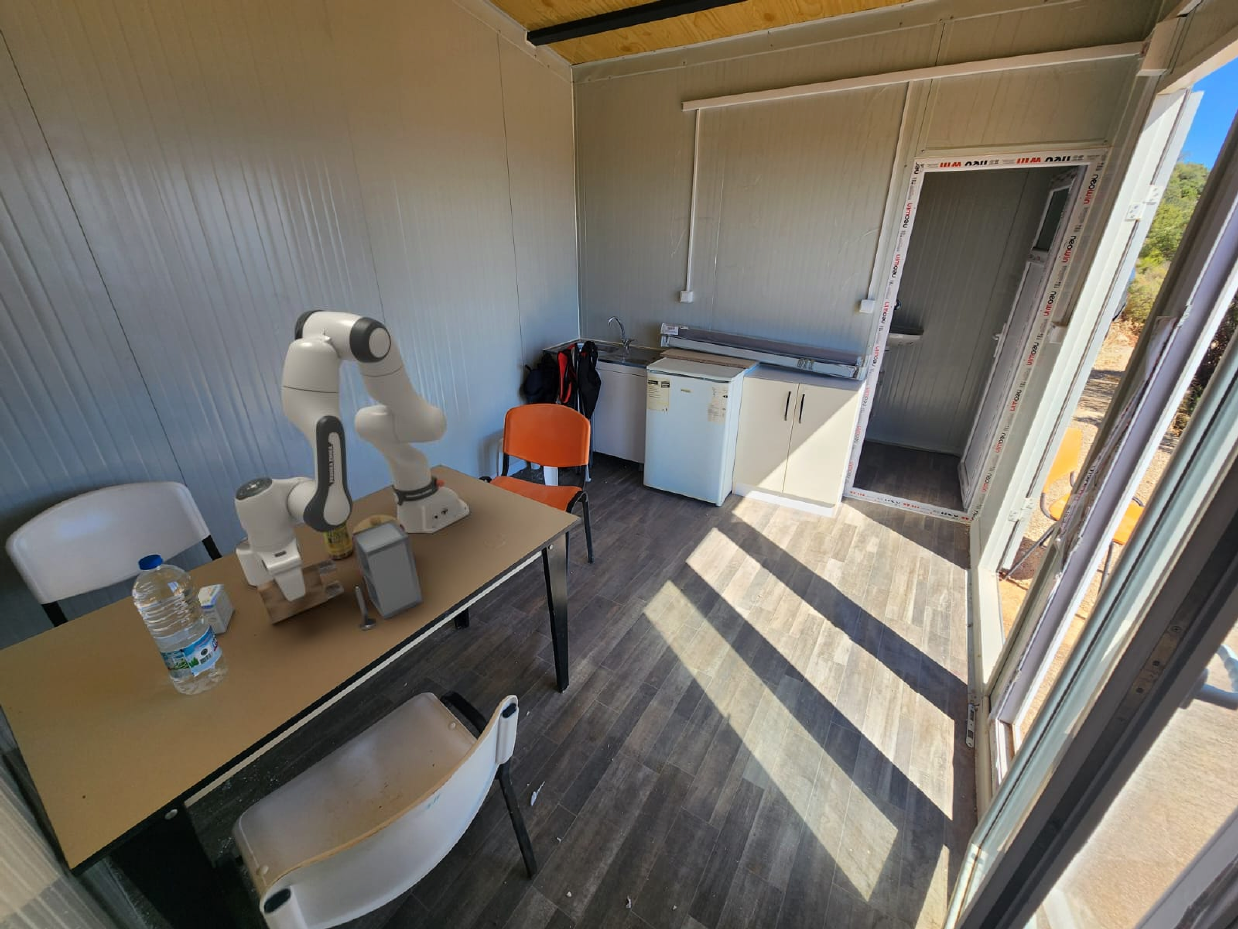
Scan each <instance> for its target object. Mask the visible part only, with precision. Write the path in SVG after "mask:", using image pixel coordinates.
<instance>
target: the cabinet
mask: <svg viewBox="0 0 1238 929" xmlns="http://www.w3.org/2000/svg"><path fill="white" fill-rule="evenodd" d="M352 537H353V538H354V541H355V545H356V549H357V552H358V556H359V560H360V563H361V567H362V571H363V574H364V578H365V580H364V581H365V584H366V590H367V591H368V592H367V593H368V595H369V598H370V601H371V602H372V604H373V606H374V607H375V608H376V610H377V611H378V612H379V614H380V616H381V617H382V619H383V620H385V621H386V620H388V619H389V618H391V617H394V616H396V615H398V614H400V613H402V612H404V611H407V610H409V609H411V608H413V607H415V606H417V605H419V604H421V603H423V596H422V591H421V587H420V582H419V578H418V573H417V569H416V568H417V567H416V563H415V558H414V553H413V549H412V544H411V539H410V536H409V535H408V534H407V532H404V531H403V530H402V528H401V527H400V526H399V525H398V524H397V523H396V522H395V521H394V520H393V519H392V520H390V521H387V522H384V523H381V524H378V525H376V526H373V527H370V528H367V529H364V530H361V531H359V532H356V533H353V532H352Z"/></svg>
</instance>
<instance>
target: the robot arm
mask: <svg viewBox="0 0 1238 929" xmlns="http://www.w3.org/2000/svg"><path fill="white" fill-rule="evenodd" d="M293 332H294V341H292V342H291V343H290V345H289V346H288V350H287V353H286V356H285V358H284V359H285V360H284V365H283V371H282V375H281V376H282V377H281V378H282V379H281V394H280V395H281V397H280V399H281V405H282V410H283V415H284V416H285V417H286V419H287V420H288V421H289V422H290V423H291V424H292V425H293V426H295V428H297V429H298V430H299V431H300V432H301V434H303V436H304V437H305V438H306V439H307V441H308V442H309V444H310V445H311V448H312V451H313V457H314V458H313V459H314V461H313V462H314V479H313V478H310V477H306V476H302V475H301V476H300V475H299V476H293V477H291V478H290V477H289V478H285V479H282V478H281V479H280V478H279V479H277V478H271V477H258V478H254V479H251V480H249V481H247V482H245V483H244V484H242V485H241V486H240V487H239V488H238V489H237V490H236V492H235V494H234V505H235V509H236V512H237V516H238V519H239V522H240V525H241V527H242V529H243V530H244V531H245V532H246V534H247V538H248V542H249V545H250V547H251V550H252V552H253V555H254V557H255V559H256V561H257V562H259V563H260V564H261V565H263V566H264V567H265V569H266V570H267V572H268V573H269V575H273V577H274V578H275V580H276V582H277V583H278V585H279V587H280V589H281V590H282V592H283V594H284V595H285V597H286V598H287V600H289V601H292V600H295V599H297V598H300V597H302V596H304V595H305V594H306V587H305V583H304V578H303V574H302V570H301V569H302V564H303V558H302V556H301V543H300V540H299V538H298V534H297V532H296V529H295V528H296V527H295V525H296V524H298V523H300V522H302V523H304V524H305V525H307V526H308V527H310V528H311V529H313V530H314V531H316V532H319V533H323V532H324V533H325V532H331V531H334V530H336V529H338V528H339V527H341V526H342V525H343V524H345V523H346V522H348V521H349V519H350V517H351V515H352V512H353V507H354V504H353V498H352V496H351V493H350V490H349V486H348V485H349V484H348V472H347V471H348V470H347V446H346V434H345V429H344V425H343V423H342V418H341V413H340V381H341V380H340V367H341V366H342V364H343V361H350V362H356V366H357V367H358V370H359V373H360V377H361V380H362V381H363V385H364V387H365V389H366V392H367V394H368V395H369V397H370V398H371V399H373V400H374V401H375V402H376V403H378V404H377V405H371V406H367V407H366V406H365V407H362V408H360V409H359V410H358V411H357V412H356V414H355V415H354V420H353V427H354V430H355V432H356V434H357V435H358V437H359V438H360V439H361V440H363V441H365V442H367V443H368V444H370V445H371V446H372V447H374V448H375V450H377V451H378V453H380V454H381V455H382V457H383V458H384V460H385V462H386V464H387V466H388V469H389V472H390V476H391V481H392V486H391V487H392V493H393V498H394V502H395V503H396V510H397V512H396V513H397V515H396V516H397V517H396V518H397V519H398V520H399V522H400V524H402V525H403V526H404V528H405V533H409V534H416V533H418V534H419V533H423V534H434V533H436V532H438V531H439V530H442V529H443V528H445V527H447V526H449V525H451V524H453V523H454V522H457V521H459V520H460V519H463V518H465V517H466V516H468V515H470V508H469V505H468V504H467V503H466V502H464V501H463V500H462V499H460V497H459V496H458V494H457V493H456V492H455V491H453V490H452V489H450V488H448V487H446V486H444V485H445V482H444V481H443V480H442V479H438V478H437V476H435V475H432V474H431V469H430V463H429V458H428V456H427V455H426V454H425V453H424V452H423V451H421V450H419V449H417V448H415V447H414V446H413V445H411V443H413V444H416V443H417V444H419V443H421V444H422V443H423V444H426V443H430V442H436V441H440V440H442V438H443V437H444V436H445V435H446V431H447V428H448V421H447V417H446V415H445V414H444V412H443V411H442V409H440V408H439V407H437V406H435V405H432V404H431V403H430V402H428V401H427V400H426V399H424V398H423V396H421V395H420V394H419V393H418V392H417V390H416V389H415V388H414V387H413V385H412V383H411V380H410V378H409V374H408V372H407V369H406V366H405V363H404V360H403V357H402V354H401V352H400V349H399V347H398V345H397V343H396V341H395V339H394V337H393V335H392V334H391V332H390V330H389V329H388V328H387V326H385V325H384V324H383V323H382V322H381V321H378V320H377V319H374V318H372V317H369V316H361V315H358V314H354V313H349V312H344V311H343V312H341V311H340V312H339V311H338V312H337V311H325V310H323V309H312V310H307V311H305V312H303V313H302V314H301V315H300V316H299V317H298V318H297V321H296V323H295V325H294V331H293ZM373 400H372V401H373Z"/></svg>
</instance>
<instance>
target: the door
mask: <svg viewBox="0 0 1238 929" xmlns="http://www.w3.org/2000/svg"><path fill="white" fill-rule="evenodd" d="M337 568H338V567H337V565H336V563H335V561H334V559H332V558H330V557H329V558H327V559H325V560H323V561H320V562H316V563H314V564H311V565H309V566H306V567H304V568H301V570H302V574H303V578H304V583H305V587H306V594H305V595H304V596H302V597H300V598H297V599H295V600H292V601H289V600H287V598H286V597H285V595H284V594H283V592H282V590H281V589H280V587H279V585H278V583H277V582H276V580H275V579H274V580H271V581H269V582H266V583H263V584H261V585H258V586H256V588H257V590H258V593H259V595H260V597H261V599H262V600H261V601H262V602H263V604H264V607H265V609H266V612H267V614H268V616H269V619H270V622H271V624H272V625H274V624H276V623H278V622H281V621H282V620H285V619H287V618H289V617H292V616H294V615H297V614H299V613H302V612H304V611H307V610H309V609H311V608H314V607H316V606H319V605H320V604H323V603H325V602H327V601H329V599H332V598H335V597H337V596H338V595H341V594H344V593H345V590H344V587H343V586H342V584H341V583H340V581H339V580H336V581H334V582H331V583H329V584H325V585H323V581H322V578H321V577H323V576H326V575H328V574H331V573H334V572H336V571H338V569H337Z"/></svg>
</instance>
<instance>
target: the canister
mask: <svg viewBox="0 0 1238 929" xmlns="http://www.w3.org/2000/svg"><path fill="white" fill-rule="evenodd" d="M392 519H393V520H394V521H395V522H396V523H397V524H398V525H399V526H400V527H401V528H402V530H403V531H404V532H405V528H404V526H403V525H402V524H400V522H399V520H398V519H397V517H395V516H394V515H393V516H392V515H387V514H373V515H371V516H369V517H366V518H364V519H363V520H362V521H361V522H359V523H358V524H357V525H355V527H354V528H353V530H352V534H353V533H356V532H359V531H361V530H364V529H367V528H370V527H373V526H376V525H378V524H381V523H384V522H387V521H390V520H392ZM405 533H406V532H405ZM351 544H352V546H353V547H354V554H355V557H356V560H357V563H358V567H359V568H358V569H359V573H360V575H361V577H362V579H363V580H364V581H365V578H364V574H363V571H362V567H361V563H360V560H359V556H358V552H357V549H356V545H355V541H354V538H353V536H352V537H351Z"/></svg>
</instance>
